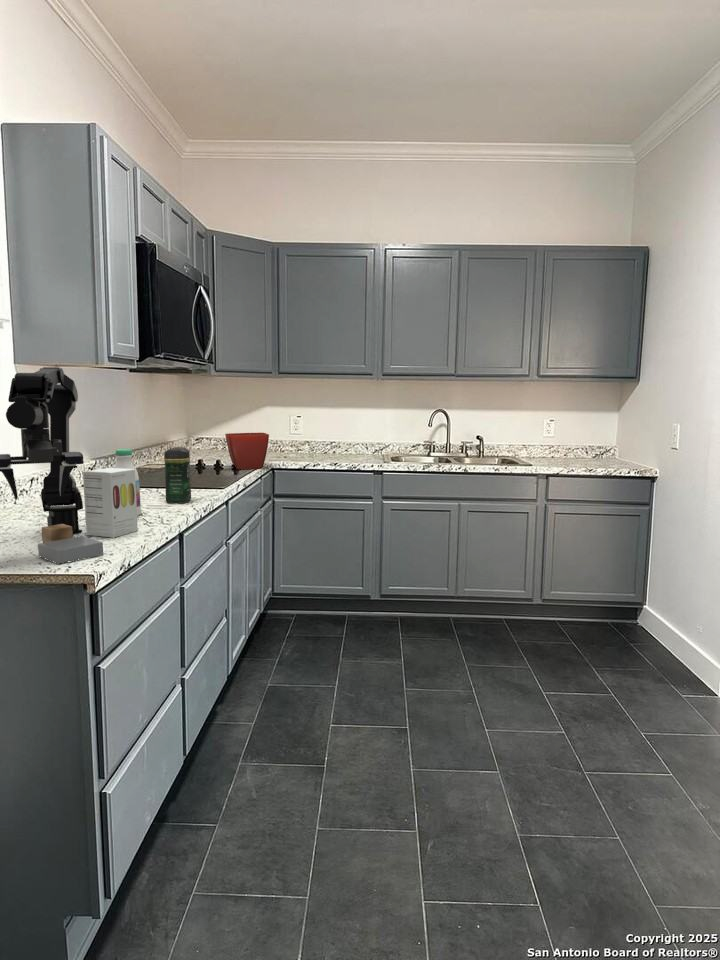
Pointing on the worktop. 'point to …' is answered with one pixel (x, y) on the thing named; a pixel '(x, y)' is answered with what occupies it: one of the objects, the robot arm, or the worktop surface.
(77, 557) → the slate slab
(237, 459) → the plant pot
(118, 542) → the worktop surface
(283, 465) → the worktop surface
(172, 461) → the coffee jar
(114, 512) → the supplement box
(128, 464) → the milk bottle
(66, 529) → the walnut cube
